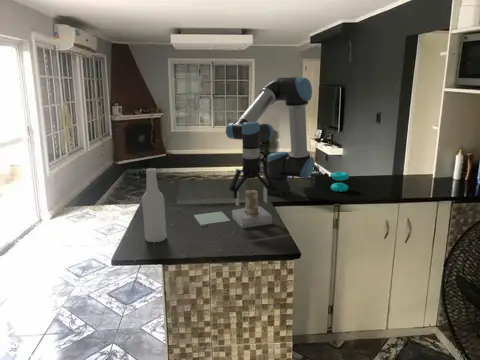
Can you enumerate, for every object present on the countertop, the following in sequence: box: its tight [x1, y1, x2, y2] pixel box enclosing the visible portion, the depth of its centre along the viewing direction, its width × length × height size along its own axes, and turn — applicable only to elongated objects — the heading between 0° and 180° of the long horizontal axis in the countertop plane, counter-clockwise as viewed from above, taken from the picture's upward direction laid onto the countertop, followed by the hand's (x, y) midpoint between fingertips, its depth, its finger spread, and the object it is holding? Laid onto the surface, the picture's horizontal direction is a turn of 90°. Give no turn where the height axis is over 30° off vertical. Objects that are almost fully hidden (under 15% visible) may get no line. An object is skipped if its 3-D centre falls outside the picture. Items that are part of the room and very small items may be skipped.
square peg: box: [244, 189, 259, 215], centre depth 183 cm, size 4×4×14 cm
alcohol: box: [141, 167, 168, 244], centre depth 165 cm, size 9×9×30 cm
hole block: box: [231, 205, 273, 229], centre depth 185 cm, size 14×14×5 cm
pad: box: [193, 211, 231, 227], centre depth 190 cm, size 14×14×1 cm
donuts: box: [330, 171, 350, 193], centre depth 235 cm, size 10×10×10 cm
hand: (251, 203), depth 183 cm, fingers open, 13 cm apart
